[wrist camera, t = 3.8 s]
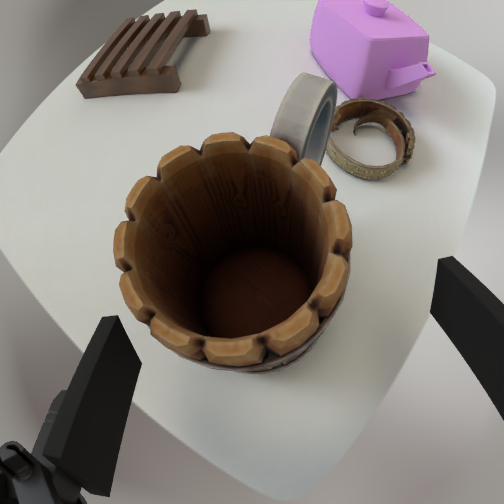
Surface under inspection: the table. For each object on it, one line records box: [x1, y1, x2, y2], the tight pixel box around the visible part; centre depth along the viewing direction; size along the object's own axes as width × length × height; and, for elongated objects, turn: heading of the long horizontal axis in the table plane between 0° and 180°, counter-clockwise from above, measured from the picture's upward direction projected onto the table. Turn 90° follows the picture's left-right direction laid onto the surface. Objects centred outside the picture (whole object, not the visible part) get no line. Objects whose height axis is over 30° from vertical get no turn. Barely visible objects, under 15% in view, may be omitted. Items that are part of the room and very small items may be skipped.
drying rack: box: [76, 10, 210, 99], centre depth 34 cm, size 14×14×4 cm
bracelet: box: [326, 97, 415, 180], centre depth 27 cm, size 9×9×3 cm
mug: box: [113, 73, 352, 374], centre depth 18 cm, size 16×11×15 cm
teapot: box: [310, 0, 436, 100], centre depth 27 cm, size 18×10×10 cm, turn 21°
